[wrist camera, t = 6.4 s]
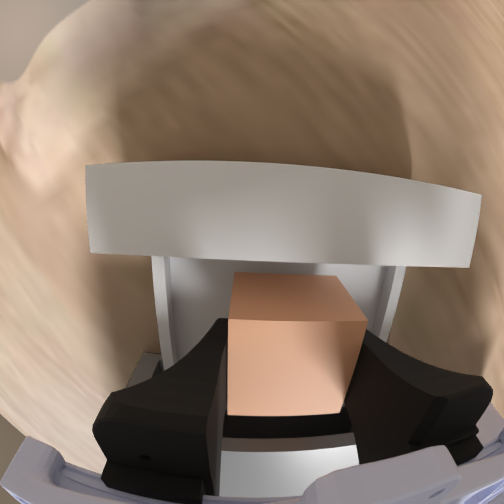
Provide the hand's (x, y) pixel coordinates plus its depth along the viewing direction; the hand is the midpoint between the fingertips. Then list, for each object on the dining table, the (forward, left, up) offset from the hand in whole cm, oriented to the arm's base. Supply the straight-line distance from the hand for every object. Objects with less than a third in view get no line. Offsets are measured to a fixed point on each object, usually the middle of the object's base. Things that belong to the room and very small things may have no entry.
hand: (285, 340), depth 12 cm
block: (0, 0, -2) cm, 2 cm away
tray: (0, 0, -3) cm, 3 cm away
